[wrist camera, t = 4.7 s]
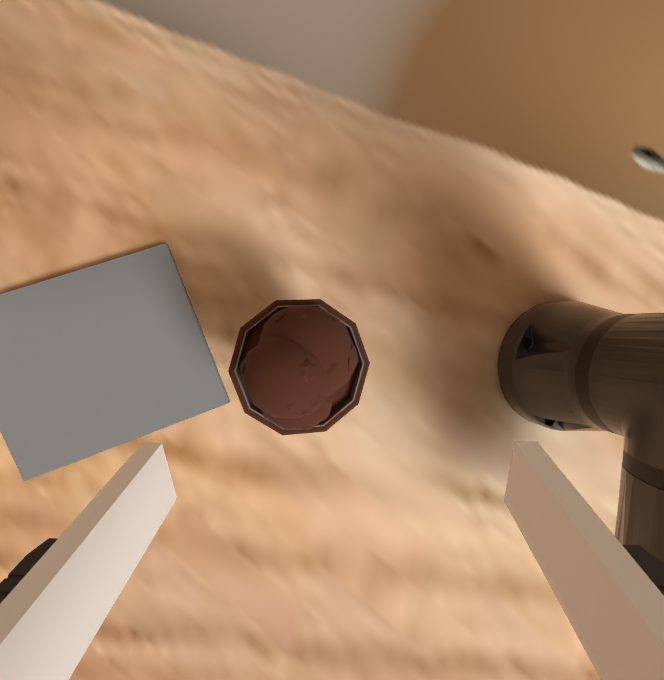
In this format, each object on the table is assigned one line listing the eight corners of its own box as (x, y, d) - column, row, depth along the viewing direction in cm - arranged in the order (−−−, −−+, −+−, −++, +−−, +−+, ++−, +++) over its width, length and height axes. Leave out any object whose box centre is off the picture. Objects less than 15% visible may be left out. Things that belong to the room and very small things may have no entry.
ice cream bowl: (311, 425, 36) (333, 493, 21) (222, 370, 34) (178, 403, 20) (364, 343, 37) (422, 355, 22) (279, 285, 35) (278, 255, 20)
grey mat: (167, 244, 33) (165, 243, 32) (230, 401, 35) (229, 402, 34) (-50, 311, 30) (-56, 311, 30) (28, 478, 32) (24, 481, 31)
